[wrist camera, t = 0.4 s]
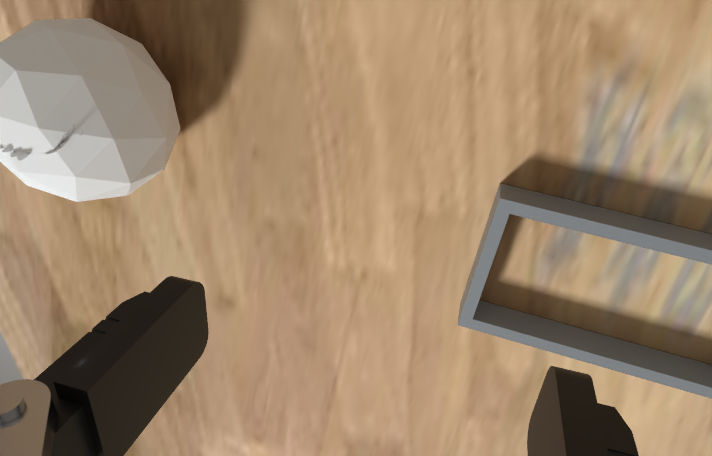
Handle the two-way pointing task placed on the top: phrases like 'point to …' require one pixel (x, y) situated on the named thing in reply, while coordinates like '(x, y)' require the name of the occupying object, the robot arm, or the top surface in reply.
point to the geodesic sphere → (83, 110)
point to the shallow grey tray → (571, 338)
